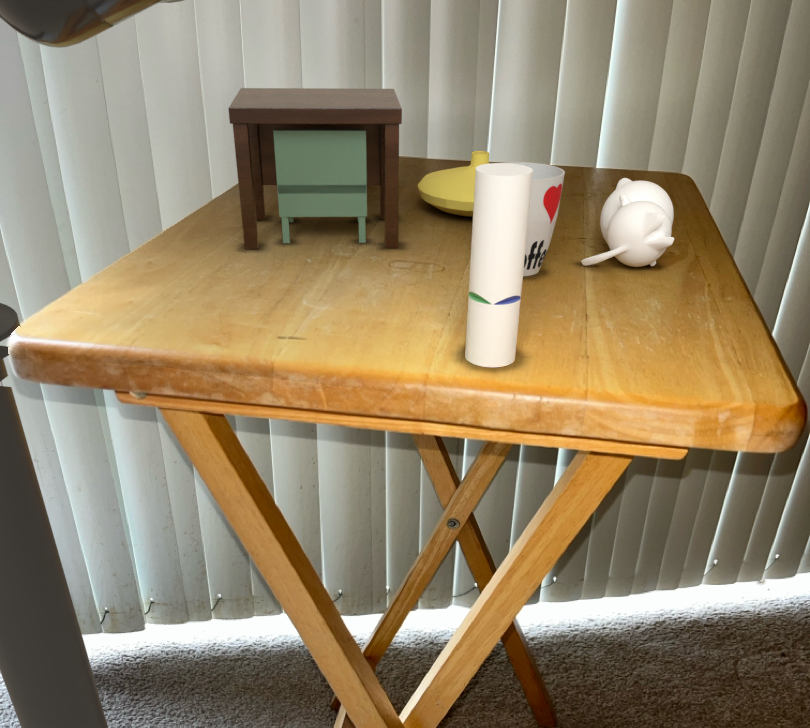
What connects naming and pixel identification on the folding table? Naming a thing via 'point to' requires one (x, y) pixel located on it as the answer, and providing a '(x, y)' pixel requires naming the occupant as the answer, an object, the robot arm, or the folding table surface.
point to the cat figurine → (636, 224)
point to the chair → (321, 175)
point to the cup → (541, 213)
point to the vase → (453, 186)
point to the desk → (314, 110)
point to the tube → (497, 262)
